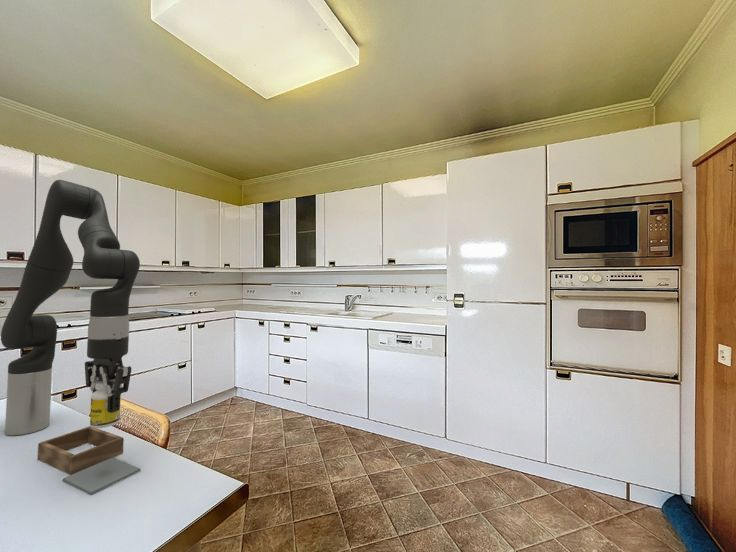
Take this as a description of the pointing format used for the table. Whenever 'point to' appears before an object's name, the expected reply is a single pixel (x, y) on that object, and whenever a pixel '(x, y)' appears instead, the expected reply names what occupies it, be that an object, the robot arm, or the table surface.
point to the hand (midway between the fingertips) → (105, 408)
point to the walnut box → (69, 463)
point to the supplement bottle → (102, 408)
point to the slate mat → (101, 475)
